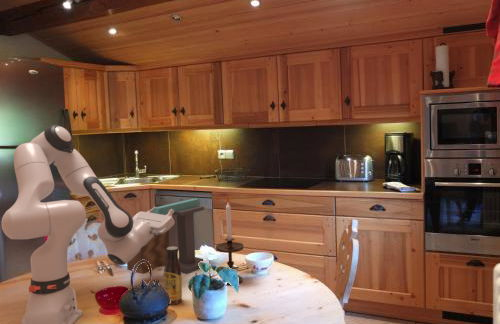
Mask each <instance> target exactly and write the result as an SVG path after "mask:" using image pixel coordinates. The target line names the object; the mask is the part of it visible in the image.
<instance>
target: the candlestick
mask: <svg viewBox="0 0 500 324" xmlns="http://www.w3.org/2000/svg"><path fill="white" fill-rule="evenodd" d="M226 201H227V204H226V205H225V216H226V217H225V218H226V238H224V241H225V242H222V243H219V244H217V245H216V246H215V249H216V250H215V251H217V252H219V253H228V254H227V255H228V261H227V262H226V265H227V266H228V268H229V267H230V268H232V269H234V265H235V262H234V261H233V253H237V252H241V251H243V250H244V247H245V246H244V244H243V243H241V242H234V241H235V238H234V237H233V233H232V231H233V230H232V211H231V210H232V209H231V208H232V207H231V205H230V203H229V202H230V200H229V196H228V195H226ZM237 276H238V277H239V283H240V284H241V282H242V283H243V277H242V276H241V275H237ZM226 286H227V287H228V286H232V285H230V284H229V283H227V285H226Z"/></svg>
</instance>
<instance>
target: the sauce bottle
mask: <svg viewBox="0 0 500 324" xmlns="http://www.w3.org/2000/svg"><path fill="white" fill-rule="evenodd" d="M178 259H179V248H178V246H173V245H172V246H169V247H168V248H167V262H166V266H165V265H164V269H163V270H164V271H163V289H164V288H165V290H166V291H167V293H168V294H169V296H170V299H171V303H170V304H169V305H177V304H179V303H181V302H182V299H183V282H182V279H183V278H182V276H183V275H182V274H183V273H182V272H181V264H180V263H179V261H178Z"/></svg>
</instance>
